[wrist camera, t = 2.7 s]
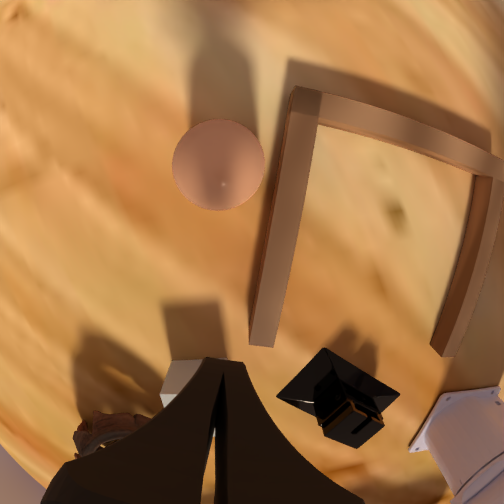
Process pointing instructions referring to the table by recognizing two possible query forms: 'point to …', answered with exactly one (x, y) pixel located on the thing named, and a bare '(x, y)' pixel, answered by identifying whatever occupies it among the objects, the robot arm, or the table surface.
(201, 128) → the pinkish-brown rounded block
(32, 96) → the table surface
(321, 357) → the black boxy piece
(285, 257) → the bay
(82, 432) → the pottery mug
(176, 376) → the light gray block
